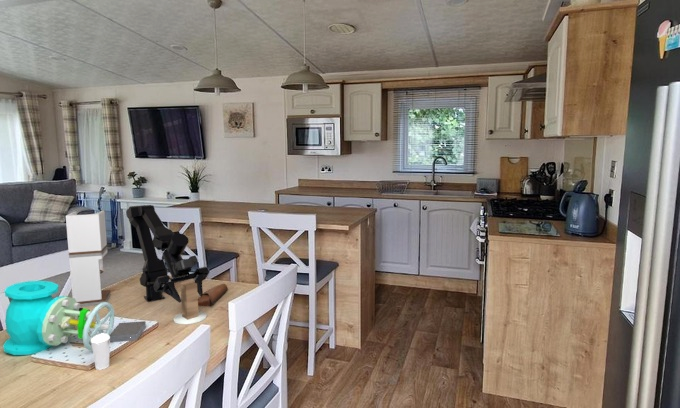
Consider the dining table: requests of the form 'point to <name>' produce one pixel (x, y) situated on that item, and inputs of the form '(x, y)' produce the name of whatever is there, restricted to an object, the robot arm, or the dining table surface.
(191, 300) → the walnut post
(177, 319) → the ceramic coaster
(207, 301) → the sunglasses case
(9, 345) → the valve
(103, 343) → the milkshake
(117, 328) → the metal stand
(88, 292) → the tall white block
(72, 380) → the dining table surface
